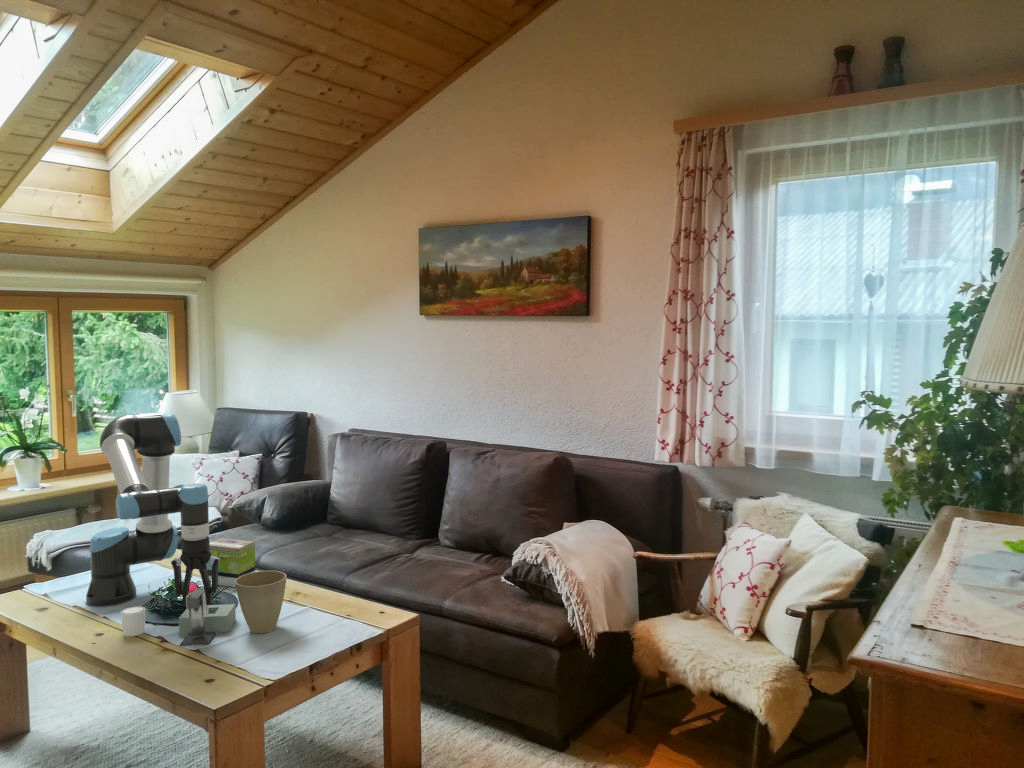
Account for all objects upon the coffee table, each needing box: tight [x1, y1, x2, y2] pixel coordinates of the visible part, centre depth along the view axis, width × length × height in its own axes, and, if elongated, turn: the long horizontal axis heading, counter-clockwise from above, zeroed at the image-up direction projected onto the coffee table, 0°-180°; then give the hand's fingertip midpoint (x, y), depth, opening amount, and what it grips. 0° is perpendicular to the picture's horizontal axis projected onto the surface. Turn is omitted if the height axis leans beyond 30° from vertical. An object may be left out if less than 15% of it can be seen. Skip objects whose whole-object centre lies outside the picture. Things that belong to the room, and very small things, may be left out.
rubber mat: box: [179, 632, 217, 647], centre depth 221 cm, size 8×8×1 cm
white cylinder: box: [120, 605, 147, 637], centre depth 226 cm, size 7×7×7 cm
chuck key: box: [187, 587, 205, 636], centre depth 220 cm, size 9×4×12 cm, turn 7°
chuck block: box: [178, 603, 237, 635], centre depth 230 cm, size 14×10×5 cm
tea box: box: [206, 537, 256, 588], centre depth 272 cm, size 15×10×15 cm
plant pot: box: [235, 570, 287, 634], centre depth 228 cm, size 15×15×16 cm
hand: (197, 615), depth 220 cm, fingers closed on chuck key, 4 cm apart
